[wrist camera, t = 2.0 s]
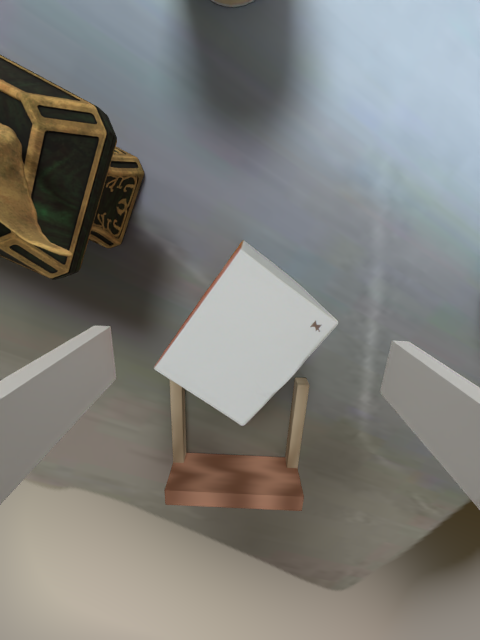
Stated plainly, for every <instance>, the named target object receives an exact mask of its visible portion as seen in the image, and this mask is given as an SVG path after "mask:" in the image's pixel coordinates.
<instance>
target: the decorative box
mask: <svg viewBox="0 0 480 640" xmlns="http://www.w3.org/2000/svg"><path fill="white" fill-rule="evenodd" d="M116 143H117V137H116V135H115V132H114V130H113V127H112V125H111V123H110V120H109V118H108V116H107V115H106V114H105V113H104V112H103V111H102V110H101V109H100V108H98V107H97V106H95V105H93V104H91V103H90V102H88V101H86V100H84V99H82V98H80V97H78V96H76V95H75V94H73V93H71V92H69V91H67V90H65V89H63V88H62V87H60V86H58V85H56V84H54V83H52V82H50V81H48V80H47V79H45V78H43V77H41V76H39V75H37V74H35V73H34V72H32V71H30V70H28V69H26V68H24V67H22V66H20V65H19V64H17V63H15V62H13V61H11V60H9V59H7V58H5V57H4V56H2V55H0V256H1V257H3V258H5V259H8V260H10V261H12V262H14V263H17V264H19V265H21V266H23V267H26V268H28V269H30V270H32V271H35V272H37V273H39V274H41V275H44V276H46V277H48V278H51V279H59V278H62V277H66V276H68V275H71V274H74V273H76V272H78V271H79V270H80V267H81V264H82V261H83V257H84V254H85V250H86V247H87V243H88V240H91V241H93V242H95V243H98V244H100V245H102V246H104V247H106V248H112V247H115V246H117V245H120V244H121V243H122V240H123V237H124V234H125V231H126V228H127V224H128V221H129V218H130V215H131V212H132V209H133V206H134V203H135V200H136V197H137V194H138V191H139V188H140V185H141V182H142V179H143V176H144V171H143V169H142V166H141V164H140V162H139V159H138V158H137V157H135V156H133V155H131V154H129V153H127V152H125V151H123V150H121V149H120V148H118V147H116Z"/></svg>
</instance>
